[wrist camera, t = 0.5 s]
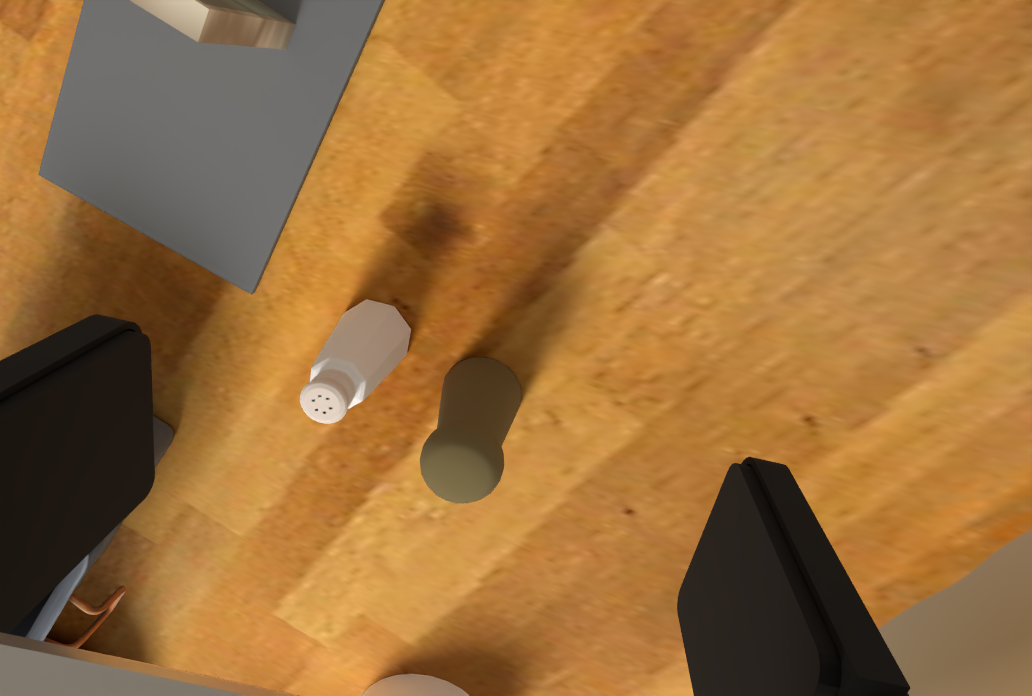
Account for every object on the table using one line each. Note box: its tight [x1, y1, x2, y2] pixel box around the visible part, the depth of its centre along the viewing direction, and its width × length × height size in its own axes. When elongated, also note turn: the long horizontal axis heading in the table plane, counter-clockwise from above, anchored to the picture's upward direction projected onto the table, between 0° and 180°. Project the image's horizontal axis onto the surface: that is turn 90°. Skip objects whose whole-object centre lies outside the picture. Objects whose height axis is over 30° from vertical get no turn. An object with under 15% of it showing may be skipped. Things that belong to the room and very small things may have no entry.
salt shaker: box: [300, 299, 411, 423], centre depth 42 cm, size 5×5×11 cm
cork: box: [420, 357, 522, 503], centre depth 43 cm, size 6×6×11 cm
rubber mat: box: [39, 0, 385, 295], centre depth 40 cm, size 24×16×1 cm, turn 149°
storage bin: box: [8, 416, 174, 648], centre depth 47 cm, size 21×16×14 cm
